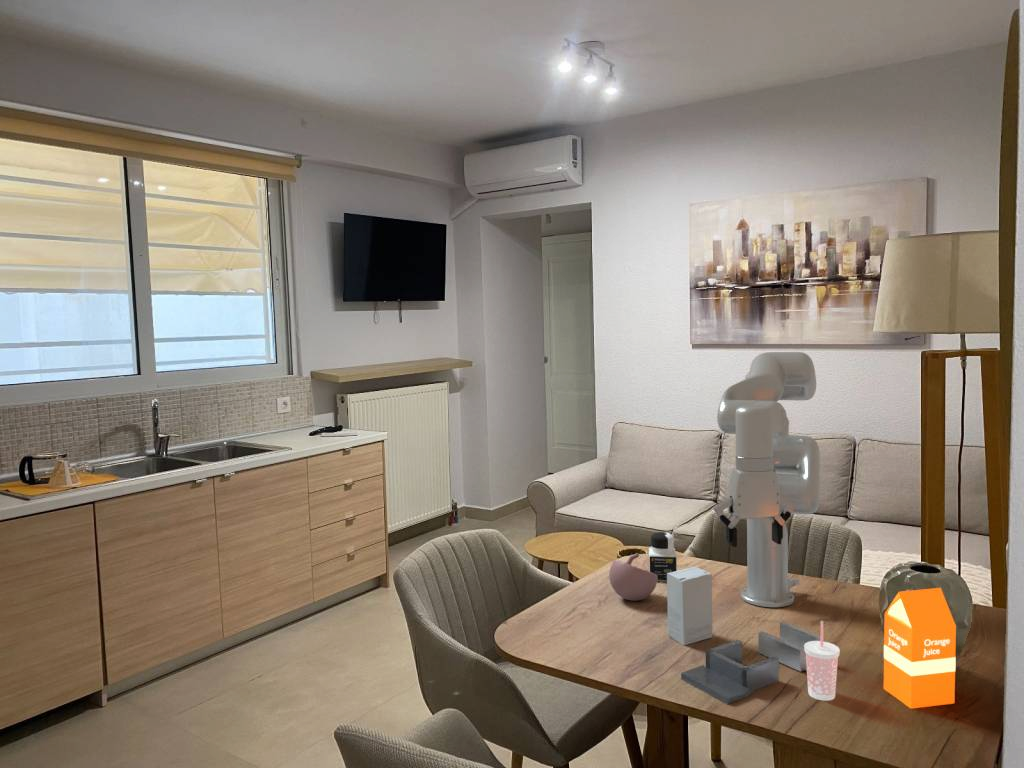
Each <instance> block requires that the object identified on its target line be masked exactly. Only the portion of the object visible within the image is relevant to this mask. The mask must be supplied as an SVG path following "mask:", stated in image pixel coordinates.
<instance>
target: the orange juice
mask: <svg viewBox="0 0 1024 768" xmlns="http://www.w3.org/2000/svg"><path fill="white" fill-rule="evenodd" d="M883 629H884V632H883V633H884V634H883V635H884V638H883V639H884V640H883V641H884V642H883V690H885V691H886V692H887V693H889V694H890V695H892V696H893V697H894V698H896V699H897V700H899V701H900V702H902V703H903V704H904V705H905V706H906V707H908V708H909V709H918V708H926V707H934V706H942V705H952V704H955V698H956V697H955V690H956V687H955V685H956V669H957V667H956V663H957V661H956V660H957V659H956V658H957V657H956V649H957V648H956V645H957V643H956V639H957V638H956V635H957V624H956V623H955V620H954V618H953V616H952V613H951V610H950V607H949V605H948V603H947V600H946V597H945V595H944V592H943V590H942V587H936V588H935V587H933V588H925V589H923V588H922V589H916V590H914V589H913V590H903V591H898V593H897V594H896V595H895V597H894V598H893V600H892V602H891V603H890V604H889V606H888V608H887V609H886V611H885V612H884V628H883Z"/></svg>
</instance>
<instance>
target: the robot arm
mask: <svg viewBox="0 0 1024 768" xmlns="http://www.w3.org/2000/svg"><path fill="white" fill-rule="evenodd" d="M816 391H817V375H816V370H815V364H814V361H813V359H812V358H811V357H810V356H809V355H808V354H807V353H805V352H802V351H770V352H768V351H767V352H762V353H760V354H757V355H756V356H755V357H754V358H753V360H752V361H751V363H750V368H749V371H748V372H747V373H746V375H745V378H744V379H743V380H741V381H739V382H736V383H734V384H732V385H731V386H729V387H728V388H727V389H726V390H725V391H724V392H723V393H722V395H721V399H720V402H719V404H718V409H717V415H716V419H717V425H718V428H719V429H720V430H721V432H723V433H725V434H730V435H735V468H734V469H731V471H730V476H729V482H728V489H727V490H728V491H727V498H726V499H725V500H723V501H721V502H720V503H717V504H716V505H714V506H713V511H714V512H715V514H716V516H717V519H719V520H720V521H721V522H722V523H723V525H725V530H726V531H725V534H726V535H725V536H726V539H725V540H726V542H727V543H728V544H729V545H730V546H731V547H732V548H736V547H738V530H737V528H736V525H737V524H738V523H739V521H740V520H746V529H747V530H746V535H747V536H746V537H747V539H746V543H747V544H746V547H747V548H746V551H747V554H746V555H747V559H746V560H747V561H746V563H747V567H746V570H747V573H746V575H747V576H746V577H747V578H746V579H747V581H746V583H747V585H746V586H747V587H744V588H743V589H741V591H740V597H741V599H742V600H744V602H746V603H748V604H751V605H754V606H759V607H763V608H783V607H788V606H790V605H792V604H794V603H795V595H794V593H792V592H791V589H792V587H793V588H794V587H795V586H798V585H800V579H798V578H797V577H793V578H789V579H788V576H789V575H788V574H789V573H788V571H789V570H788V569H789V567H788V566H789V563H788V562H789V558H788V557H789V556H788V555H789V549H788V548H789V544H788V543H789V542H788V541H789V539H788V538H789V533H788V528H787V526H786V522H787V521H788V520H789V519H790V517H792V515H807V516H808V515H812V514H814V513H815V512H817V511H818V508H819V505H820V490H821V489H820V487H821V486H820V485H821V482H820V481H821V480H820V477H821V473H820V472H821V469H820V468H821V467H820V466H821V455H820V454H821V453H820V447H819V445H818V442H817V441H816V439H815V438H813V437H811V436H807V435H793V434H792V435H790V434H789V430H790V427H789V426H790V421H789V418H788V415H787V411H786V409H785V408H784V405H782V404H781V403H780V402H779V401H801V402H802V401H809V400H811V399H812V398H813V397H814V396H815V394H816ZM725 510H727V512H728V513H729V515H728V516H726V515H725V513H724V511H725Z"/></svg>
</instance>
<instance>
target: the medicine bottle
mask: <svg viewBox="0 0 1024 768" xmlns="http://www.w3.org/2000/svg"><path fill="white" fill-rule="evenodd" d="M674 541H675V540H674V535H673V534H671V533H670V532H664V531H661V532H660V531H659V532H655V533H653V534H651V536H650V547H649V548H648V559H649V560H648V571H650V572H652V573H654V574H656V575H657V576H658V580H657V582H667V573H671V572H675V571H678V570H677V568H678V567H677V566H678V563H677V551H676V548H675V546H674V543H675V542H674Z"/></svg>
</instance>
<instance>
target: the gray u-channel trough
mask: <svg viewBox="0 0 1024 768" xmlns="http://www.w3.org/2000/svg"><path fill="white" fill-rule="evenodd" d="M820 638H821V635H819V634H817V633H814V632H812V631H809V630H807V629H804V628H801V627H799V626H796V625H794V624H791V623H788V622H786V621H781V622H780V623H779V637H777V636H775V635H772V634H770V633H768V632H765V631H759V632H758V653H759V654H761V655H763V656H765V657H768V658H771V657H773V656H774V657H776V658H779V664H783V665H784V666H788V667H790V668H791V669H794V670H796V671H798V672H803V671H806V672H807V664H806V652H805V650H804V645H805V643H807V642H809V641H820Z"/></svg>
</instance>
